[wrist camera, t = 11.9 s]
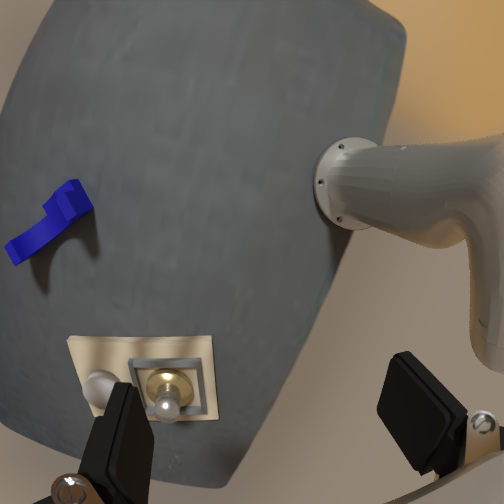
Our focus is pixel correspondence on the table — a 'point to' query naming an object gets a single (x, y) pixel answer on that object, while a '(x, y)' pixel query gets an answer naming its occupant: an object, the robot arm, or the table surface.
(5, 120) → the table surface
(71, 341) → the carrier plate
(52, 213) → the cable clip
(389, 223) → the robot arm
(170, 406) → the gold and silver knob
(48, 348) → the table surface
